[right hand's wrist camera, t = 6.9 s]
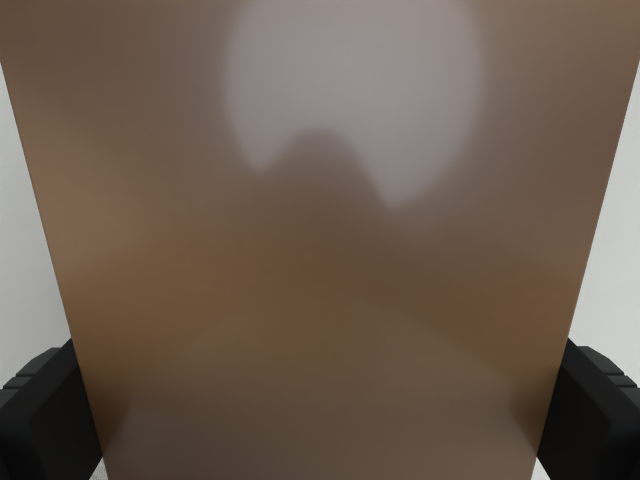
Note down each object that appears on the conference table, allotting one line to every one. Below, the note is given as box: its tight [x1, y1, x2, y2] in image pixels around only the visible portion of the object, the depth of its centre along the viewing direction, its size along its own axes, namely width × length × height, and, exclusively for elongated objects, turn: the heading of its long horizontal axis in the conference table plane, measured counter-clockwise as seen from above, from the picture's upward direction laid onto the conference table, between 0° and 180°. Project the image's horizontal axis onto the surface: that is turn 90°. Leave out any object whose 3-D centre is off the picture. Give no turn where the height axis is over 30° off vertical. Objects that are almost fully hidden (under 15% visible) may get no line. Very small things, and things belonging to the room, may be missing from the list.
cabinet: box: [0, 0, 640, 480], centre depth 10 cm, size 21×10×8 cm, turn 0°
